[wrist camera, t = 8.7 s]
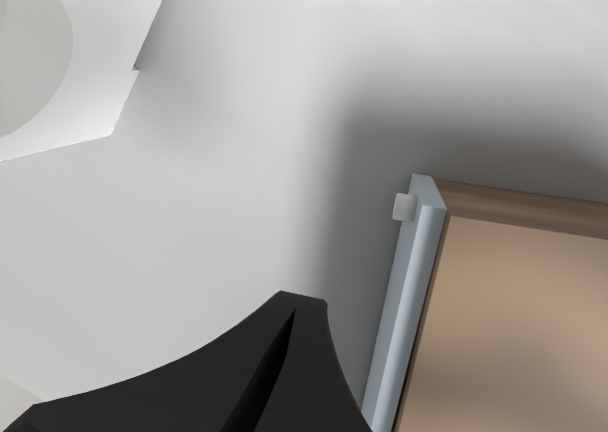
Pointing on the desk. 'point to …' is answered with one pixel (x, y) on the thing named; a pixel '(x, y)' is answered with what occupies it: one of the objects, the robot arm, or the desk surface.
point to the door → (403, 298)
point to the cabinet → (512, 318)
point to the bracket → (66, 69)
